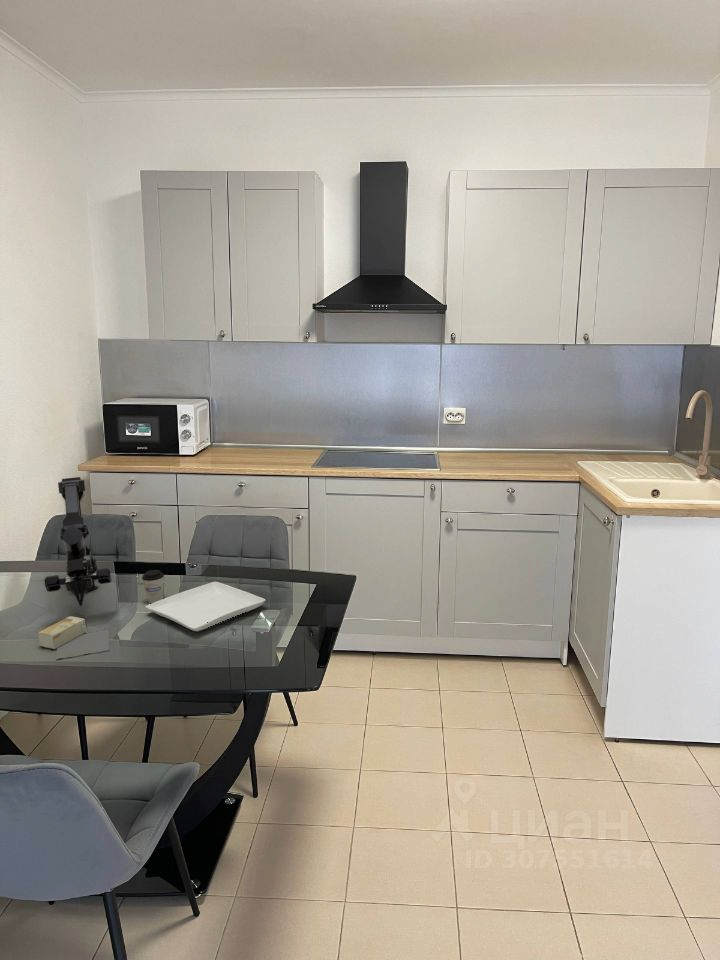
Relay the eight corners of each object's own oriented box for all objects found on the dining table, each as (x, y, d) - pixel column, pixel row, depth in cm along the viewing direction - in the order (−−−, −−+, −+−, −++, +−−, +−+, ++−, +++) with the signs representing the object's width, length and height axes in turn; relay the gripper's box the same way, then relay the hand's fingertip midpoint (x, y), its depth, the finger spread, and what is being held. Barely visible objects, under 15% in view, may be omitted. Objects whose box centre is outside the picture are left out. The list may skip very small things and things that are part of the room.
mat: (58, 639, 214) (58, 638, 214) (108, 630, 219) (108, 629, 219) (56, 660, 201) (55, 659, 201) (109, 650, 206) (109, 649, 206)
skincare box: (85, 618, 217) (53, 635, 206) (87, 632, 218) (55, 649, 207) (68, 615, 219) (36, 632, 209) (70, 628, 220) (38, 646, 210)
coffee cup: (148, 597, 243) (145, 568, 241) (169, 596, 243) (166, 568, 241) (141, 605, 236) (138, 576, 234) (163, 605, 236) (160, 576, 234)
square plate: (268, 609, 231) (267, 598, 230) (194, 640, 211) (193, 627, 210) (216, 589, 249) (215, 578, 248) (144, 616, 229) (143, 604, 229)
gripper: (40, 551, 218) (43, 600, 211) (106, 543, 224) (111, 589, 217) (45, 567, 227) (48, 614, 220) (109, 558, 233) (114, 604, 226)
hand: (80, 605), depth 220 cm, fingers closed
